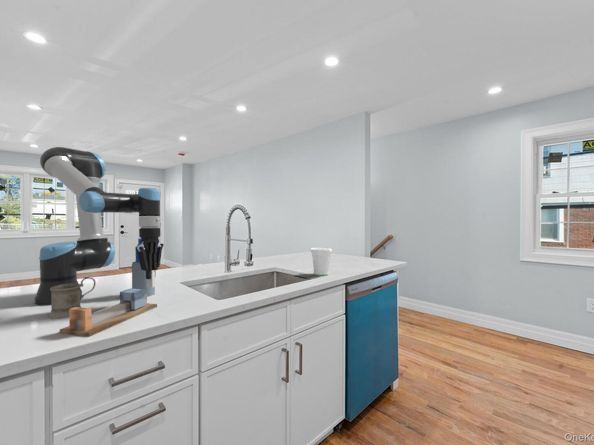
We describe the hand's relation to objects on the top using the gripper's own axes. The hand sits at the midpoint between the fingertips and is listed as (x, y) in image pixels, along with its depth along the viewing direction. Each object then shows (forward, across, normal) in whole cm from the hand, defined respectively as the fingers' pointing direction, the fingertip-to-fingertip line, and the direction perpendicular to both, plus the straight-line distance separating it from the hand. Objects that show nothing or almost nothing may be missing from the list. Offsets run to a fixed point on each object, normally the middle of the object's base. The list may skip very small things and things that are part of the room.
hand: (151, 286), depth 116 cm
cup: (+7, +72, -57) cm, 92 cm away
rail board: (+7, -17, 0) cm, 18 cm away
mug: (+7, -15, +20) cm, 26 cm away
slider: (+5, -9, 0) cm, 10 cm away
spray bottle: (+7, +10, +12) cm, 17 cm away
